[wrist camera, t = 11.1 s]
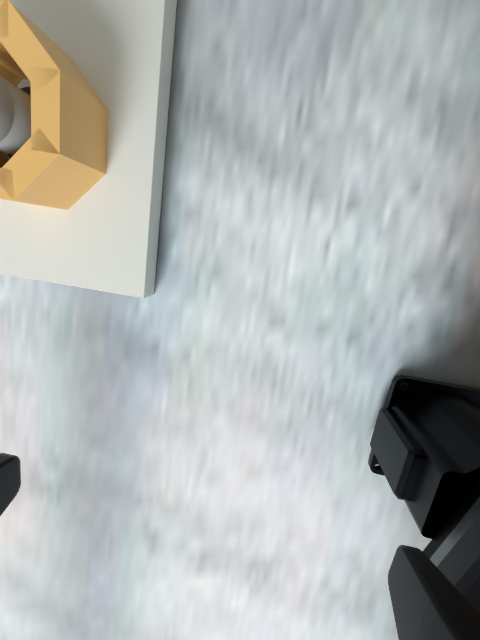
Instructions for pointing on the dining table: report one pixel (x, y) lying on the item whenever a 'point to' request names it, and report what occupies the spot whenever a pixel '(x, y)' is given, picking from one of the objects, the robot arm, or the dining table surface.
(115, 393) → the dining table surface
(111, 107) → the shaft board
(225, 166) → the dining table surface
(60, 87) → the collar
